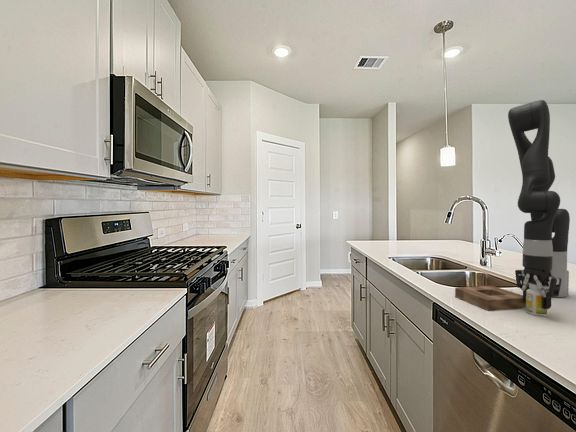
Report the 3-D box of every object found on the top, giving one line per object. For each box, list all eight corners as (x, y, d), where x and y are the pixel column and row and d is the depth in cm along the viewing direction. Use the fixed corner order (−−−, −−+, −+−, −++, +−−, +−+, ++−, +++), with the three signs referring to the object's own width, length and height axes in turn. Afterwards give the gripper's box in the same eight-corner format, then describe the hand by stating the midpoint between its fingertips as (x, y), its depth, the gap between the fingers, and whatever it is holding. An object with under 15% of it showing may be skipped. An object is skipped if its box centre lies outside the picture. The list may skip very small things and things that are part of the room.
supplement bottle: (523, 313, 102) (524, 283, 102) (528, 309, 105) (528, 281, 105) (544, 317, 98) (545, 286, 98) (548, 313, 101) (549, 284, 101)
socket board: (492, 294, 123) (492, 285, 123) (530, 307, 107) (530, 297, 107) (455, 296, 120) (455, 287, 120) (488, 310, 104) (488, 300, 104)
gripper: (570, 256, 94) (569, 312, 95) (527, 250, 109) (526, 298, 109) (549, 257, 93) (548, 314, 94) (507, 250, 107) (507, 299, 108)
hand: (536, 305), depth 102 cm, fingers open, 5 cm apart
